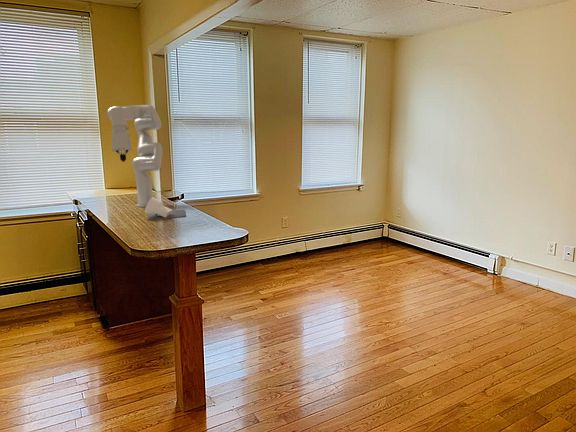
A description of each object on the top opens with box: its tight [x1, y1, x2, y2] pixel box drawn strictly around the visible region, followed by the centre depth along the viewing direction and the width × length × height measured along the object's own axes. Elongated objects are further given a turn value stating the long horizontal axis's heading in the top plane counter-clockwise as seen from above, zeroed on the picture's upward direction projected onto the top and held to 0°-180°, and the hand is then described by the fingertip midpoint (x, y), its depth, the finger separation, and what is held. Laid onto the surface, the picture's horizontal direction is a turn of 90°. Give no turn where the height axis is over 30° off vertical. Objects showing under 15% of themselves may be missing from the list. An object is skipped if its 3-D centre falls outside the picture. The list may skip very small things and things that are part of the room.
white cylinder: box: [144, 196, 173, 218], centre depth 240 cm, size 9×9×12 cm
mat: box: [147, 209, 186, 221], centre depth 247 cm, size 20×20×1 cm
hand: (123, 161), depth 248 cm, fingers closed
